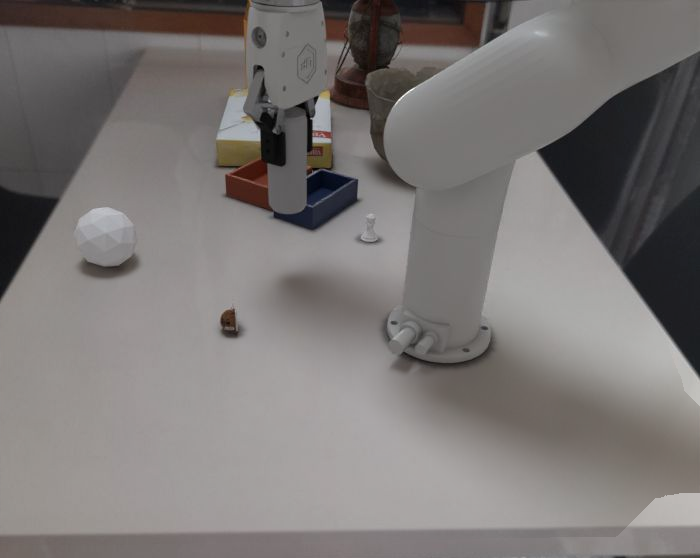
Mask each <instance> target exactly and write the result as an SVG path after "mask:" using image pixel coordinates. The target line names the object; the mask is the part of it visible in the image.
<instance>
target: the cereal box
mask: <svg viewBox="0 0 700 558" xmlns="http://www.w3.org/2000/svg"><path fill="white" fill-rule="evenodd" d="M247 95H248V90H247V89H246V88H232V89H230V93H229V96H228V99H227V102H226V106H225V108H224V112H223V115H222V119H221V122H220V125H219V128H218V131H217V135H216V137H215V147H216V148H215V149H216V159H217V166H219V167H241V166H243V165H245V164H247V163H250V162H252V161H254V160H256V159H258V158H260V157H261V139H260V130H258V129H257V127H256V123H255V122H254V121H253V120H252V118H250V117H249V116H248V115H247V114H245V113H244V112H243V106H244V103H245V101H246V98H247ZM268 102H270V99H268ZM269 109H270V108H268V110H269ZM315 110H316V113H315V116H314V118H310V119H312V120H313V149H312V151H311V152H309V153H308V152H307V166H310V167H312V169H318V168H319V169H320V168H322V169H331V168H332V166H333V143H332V141H333V140H332V117H331V116H332V114H331V99H330V91H329V89H325V90H324V92H323V93H321V94H320V95H319V98H318V100H317V103H316V105H315Z"/></svg>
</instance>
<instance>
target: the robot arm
mask: <svg viewBox="0 0 700 558" xmlns="http://www.w3.org/2000/svg"><path fill="white" fill-rule="evenodd" d="M250 6H251V7H249V15H248V25H247V40H246V76H245V80H246V79H247V90H248V95H247V98H246V101H245V103H244V106H243V112H244V113H245V114H247V115H248V116H249V117H250V118H252V120H253V121H254V122H255V123H256V127H257V129H258V130H260V139H261V160H262V161H263V162H265V163H269V164H272V165H276V166H280V167H282V166H284V165H285V164H286V136H285V132H281V131H282V124H283V117H284V109H288V108H291V107H298V108H301V109H304V110H305V112H306V115H305V116H306V117H307V152H308V153H309V152H311V151H312V149H313V120H312V119H310V118H314V116H315V113H316V110H315V105H316V103H317V100H318V98H319V95H320V94H321V93H323V92H324V90H327V87H328V78H329V77H328V72H329V71H328V70H329V69H328V42H327V27H326V19H325V13H324V7H323V2H322V1H321V0H250ZM699 52H700V0H575V1H572V2H571V3H569V4H565V5H563V6H560V7H558V8H557V7H556V8H553V9H551V10H549V11H545V12H544V13H542V14H539V15H538V16H535V17H533V18H531V19H529V20H526V21H524V22H523V23H521V24H519V25H516V26H515V27H513V28H511V29H509V30H507V31H506V32H504V33H502V34H501V35H499V36H497V37H495V38H494V39H491V40H490V41H489V42H487V43H485V44H484V45H482V46H481V47H479V48H477V49H476V50H474V51H472V52H471V53H469V54H467V55H465V56H464V57H462V59H459V60H458V61H456V62H454V63H453V64H451V65H449V66H448V67H446V68H443V69H444V70H443V71H441V72H439V73H438V74H436V75H435V76H433V77H431V78H430V79H428V80H426V81H425V82H423V83H421V84H420V85H418V86H416V87H414V88H413V89H411V90H410V91H408V92H407V93H405V94H404V95H403V96H402V97H401V98H400V99H399V100H398V101H397V102H396V104H395V105H394V107H393V108H392V110H391V112H390V113H389V116H388V118H387V121H386V124H385V128H384V138H383V141H384V150H385V154H386V157H387V160H388V162H389V164H390V165H389V164H388V165H389V166H390V168H391V169H392V171H393V172H394V173H395V174H396V175H397V176H398V178H400V179H401V180H402V181H404V182H405V183H407V184H409V185H410V186H412V187H415V195H414V202H413V211H412V217H411V226H410V234H409V243H408V250H407V251H408V253H407V258H406V259H407V260H406V267H405V277H404V278H405V279H404V286H403V295H402V296H403V297H402V303H401V304H398V305H397V306H396V307H394V308H393V309H392V310H391V312H390V313H389V315H388V318H387V322H386V331H387V335H388V337H389V339H390V340H389V342H388V344H387V348H388V350H389V352H391V354H393V355H397V356H400V355H401V354H403V353H406V354H408V355H409V356H411V357H414V358H416V359H419V360H423V361H427V362H431V363H437V364H457V363H463V362H467V361H470V360H474V359H475V358H477V357H479V356H481V355H482V354H483V353H485V351H486V350H487V349H488V347H489V346H490V343H491V339H492V338H491V337H492V329H491V326H490V324H489V321H488V320H487V319H486V318H485V316H484V315H483V310H484V305H485V302H486V301H485V300H486V296H487V295H486V294H487V291H488V285H489V280H490V274H491V270H492V265H493V260H494V255H495V251H496V244H497V239H498V234H499V230H500V225H501V220H502V217H503V211H504V206H505V203H506V197H507V193H508V188H509V184H510V181H511V177H512V174H513V170H514V168H515V164H516V161H517V160H519V159H521V158H524V157H525V156H526V157H527V156H528V155H530V154H532V153H534V152H536V151H538V150H541V149H543V148H544V147H546V146H548V145H550V144H553V143H554V142H556V141H557V140H560V139H561V138H563V137H565V136H566V135H568V134H569V133H571V132H572V131H573V130H575V129H576V128H577V127H579V126H580V125H581V124H583V122H584V121H586V120H587V119H588V118H589V117H591V116H592V115H593V114H594V113H595V112H597V110H599V108H601V107H602V106H603V105H604V104H605V103H606V102H608V101H609V100H610V99H612V98H613V97H614V96H616V95H618V94H620V93H621V92H623V91H625V90H627V89H629V88H631V87H633V86H635V85H636V84H639V83H640V82H642V81H644V80H647V79H649V78H651V77H653V76H654V75H657V74H659V73H661V72H663V71H664V70H667V69H668V68H670V67H672V66H674V65H675V64H677V63H679V62H681V61H683V60H686V59H687V58H689V57H691V56H692V55H695V54H697V53H699ZM268 99H270V102H268ZM268 108H270V109H274V118H272V117H271V116H270V115H269V113H268Z"/></svg>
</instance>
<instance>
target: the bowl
mask: <svg viewBox="0 0 700 558" xmlns="http://www.w3.org/2000/svg"><path fill="white" fill-rule="evenodd" d="M444 69H445V68H443V67H442V68H441V67H436V66H435V67H434V66H423V67H422V68H421V69H420V70H419V71H416V74H415V73H414V72H411V71H410V70H409V69H408V68H406V67H401V68H399V67H390V68H389V69H386V68H385V69H379V70H376V71H373V72H371V73H369V74H368V75H367V76H366V81H365V85H366V90H367V94H368V103H369V110H368V111H369V116H370V117H369V119H370V121H369V122H370V125H369V134H370V139H371V141H372V145H373V148H374V150H375V153H377V155H378V156H379V157H380V159H381V160H383V161H384V162H385V163H386V164H388V166H390V164H389V162H388V160H387V157H386V154H385V150H384V141H383V138H384V128H385V124H386V121H387V118H388V116H389V113H390V112H391V110H392V108H393V107H394V105H395V104H396V102H397V101H398V100H399V99H400V98H401V97H402V96H403V95H404V94H405V93H407V92H408V91H410V90H411V89H413V88H414V87H416V86H418V85H420V84H421V83H423V82H425V81H426V80H428V79H430V78H431V77H433V76H435V75H436V74H438V73H439V72H441V71H443V70H444Z"/></svg>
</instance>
